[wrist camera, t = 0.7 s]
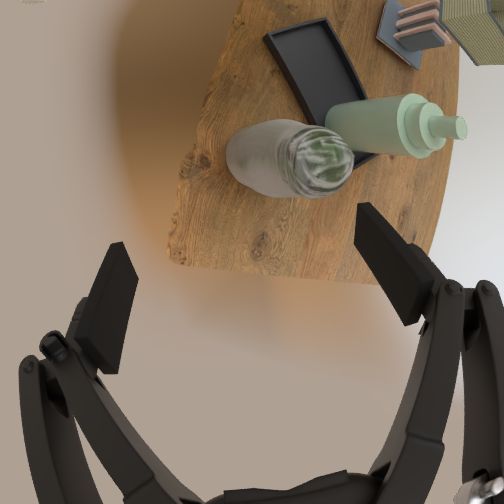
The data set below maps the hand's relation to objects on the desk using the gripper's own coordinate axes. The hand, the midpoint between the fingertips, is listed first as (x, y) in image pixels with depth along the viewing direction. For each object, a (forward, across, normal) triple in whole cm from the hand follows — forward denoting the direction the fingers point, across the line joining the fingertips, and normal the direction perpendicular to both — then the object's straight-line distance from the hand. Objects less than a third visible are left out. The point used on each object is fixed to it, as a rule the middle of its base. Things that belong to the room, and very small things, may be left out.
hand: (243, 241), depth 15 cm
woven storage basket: (+53, +46, +20) cm, 72 cm away
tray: (+43, +21, +3) cm, 48 cm away
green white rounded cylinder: (+37, +3, -7) cm, 38 cm away
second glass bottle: (+41, +24, -4) cm, 48 cm away
